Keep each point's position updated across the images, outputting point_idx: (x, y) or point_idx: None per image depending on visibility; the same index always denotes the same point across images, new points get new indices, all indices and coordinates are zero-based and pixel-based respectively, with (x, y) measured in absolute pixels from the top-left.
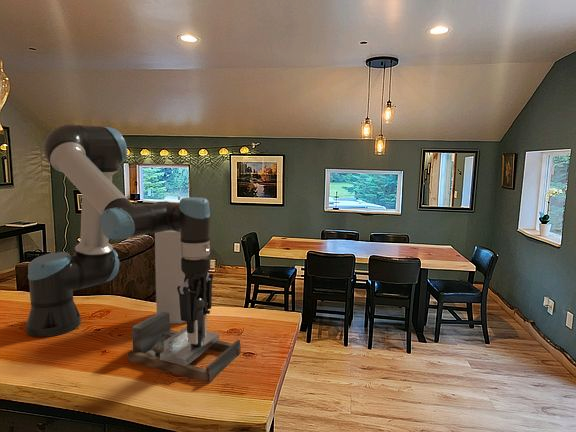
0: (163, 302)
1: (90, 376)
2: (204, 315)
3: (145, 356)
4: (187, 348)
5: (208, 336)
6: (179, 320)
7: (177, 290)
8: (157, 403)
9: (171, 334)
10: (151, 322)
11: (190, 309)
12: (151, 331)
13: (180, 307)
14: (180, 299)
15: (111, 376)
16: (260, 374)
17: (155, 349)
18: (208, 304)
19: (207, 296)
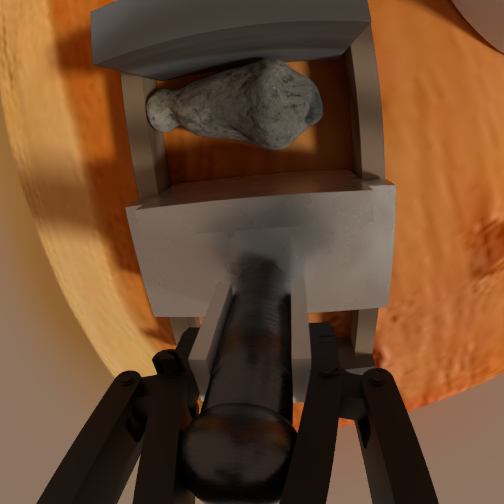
0: None
1: (41, 56)
2: (295, 401)
3: (130, 123)
4: (216, 274)
5: (350, 285)
6: (468, 15)
7: None
8: (72, 292)
9: (270, 125)
10: (185, 31)
11: (132, 465)
12: (192, 50)
13: (78, 439)
14: (55, 486)
15: (61, 97)
16: None
17: (178, 119)
18: (358, 434)
19: (372, 476)
